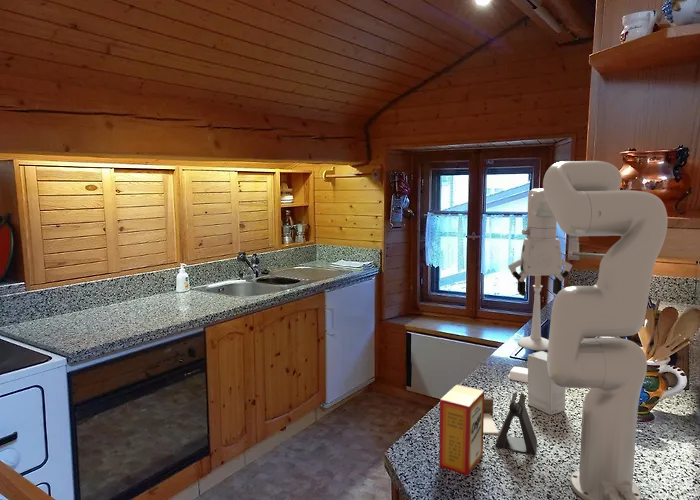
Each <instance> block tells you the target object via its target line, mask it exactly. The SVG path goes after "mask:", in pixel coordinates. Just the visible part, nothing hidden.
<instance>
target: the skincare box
mask: <svg viewBox="0 0 700 500" xmlns="http://www.w3.org/2000/svg"><path fill="white" fill-rule="evenodd" d="M547 353H548V352H546V351H545V350H542V351H541V350H539V351H536V352H533V353H529V354H527V368H528V383H527V394H528V395H527V404H528V406H531V407H533V408H536V409H537V410H538V411H539V410H540V411H541V412H543V413H545V414H547V415H549V416H551V415H552V416H553V415H555V414H560V413H562V412H563V413H564V412H565V410H566V387H561V386H558V385H556V384H555V383H554V382H553V381H552V380H551V378H550V376H549V373H548V368H547Z"/></svg>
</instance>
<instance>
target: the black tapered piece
mask: <svg viewBox="0 0 700 500" xmlns="http://www.w3.org/2000/svg"><path fill="white" fill-rule="evenodd" d="M517 396H518V391H516V392H514V393H513V394H512V397H511V400H510V402H509V407H508V408H509V411H508V413H507V415H506V417H505V419H504V421H503V424H502V426H501V428H500V430H499V431H498V432H499V434H497V439H496V441H495V445H494V447H495V448H497V449H499V450H500V449H501V450H506V451H511V452H514V451H515V453H520V454H526V455H531V456H536V452H537V446H538V439H537V435H536V432H535V430H534V428H533V425H532V422H531V418H530V416H529V413H528V410H527V407H526V396H525V394H524V393H523V392H520V395H519V398H518V399H519V400H518V402H517V401H516V399H517ZM515 417H516V418H518V420H519V425H520V429H521V433H522V436H523V438H520V437H516V436H511V435H508V434H509V433H508V432H509V430H510V427H511V423H512V421H513V418H515Z"/></svg>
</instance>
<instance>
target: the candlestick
mask: <svg viewBox="0 0 700 500" xmlns="http://www.w3.org/2000/svg"><path fill="white" fill-rule="evenodd" d="M541 282H542V275H539V276H534V284H533V285H532V287H533V291H534V295H533V296H534V297H533V299H534V300H533V306H532V307H533V309H532V320H531V321H532V322H531V330H530V335H529V336H523V337H521V338H520V339H518V340H517V345H518V346H519V347H521V348H523V349H526V350H531V351H548V343H549V338H548V339H547V338H545V337H542V333H541V332H542V327H541V324H542V323H541V320H542V319H541V295H540V293H541V291H542V288H543V286H544V285H542V284H541Z"/></svg>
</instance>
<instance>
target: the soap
mask: <svg viewBox="0 0 700 500" xmlns="http://www.w3.org/2000/svg"><path fill="white" fill-rule="evenodd" d="M507 379H509V380H513V381H517V382H523V383H527V384H528V367H527V368H526V367H521V366H513V367H512V368H511V369H510V371H509V374H508V375H507Z"/></svg>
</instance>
